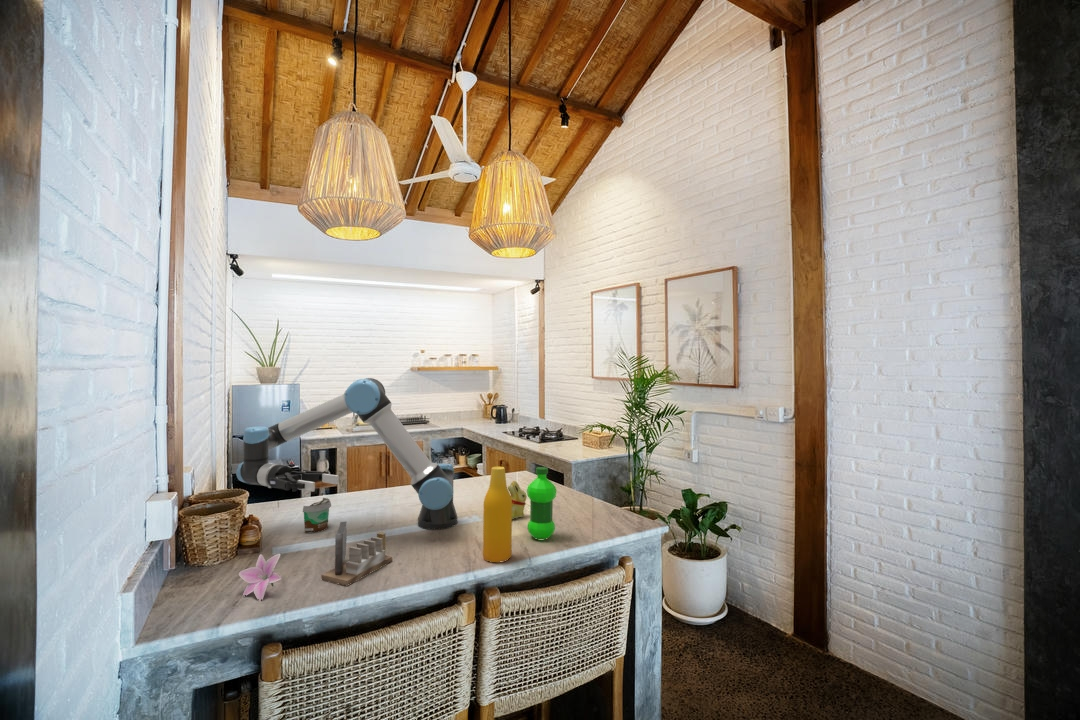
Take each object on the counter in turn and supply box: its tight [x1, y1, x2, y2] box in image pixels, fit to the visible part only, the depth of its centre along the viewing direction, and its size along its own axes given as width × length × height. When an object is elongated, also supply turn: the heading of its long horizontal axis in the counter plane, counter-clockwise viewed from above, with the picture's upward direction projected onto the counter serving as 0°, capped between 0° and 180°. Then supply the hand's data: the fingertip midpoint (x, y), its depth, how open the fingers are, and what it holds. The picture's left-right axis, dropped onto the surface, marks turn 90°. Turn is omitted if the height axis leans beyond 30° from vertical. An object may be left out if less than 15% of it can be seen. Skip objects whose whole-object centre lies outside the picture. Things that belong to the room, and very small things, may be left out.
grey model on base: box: [321, 532, 393, 586], centre depth 151 cm, size 19×10×13 cm, turn 157°
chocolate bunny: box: [507, 480, 528, 520], centre depth 203 cm, size 7×11×15 cm, turn 125°
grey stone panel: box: [336, 521, 348, 570], centre depth 153 cm, size 13×2×10 cm, turn 17°
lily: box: [238, 553, 282, 600], centre depth 137 cm, size 12×12×10 cm
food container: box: [302, 497, 332, 533], centre depth 187 cm, size 12×6×10 cm, turn 168°
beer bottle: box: [482, 466, 513, 563], centre depth 162 cm, size 9×9×29 cm
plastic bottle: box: [526, 466, 557, 539], centre depth 181 cm, size 10×10×25 cm
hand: (326, 483), depth 159 cm, fingers open, 9 cm apart
